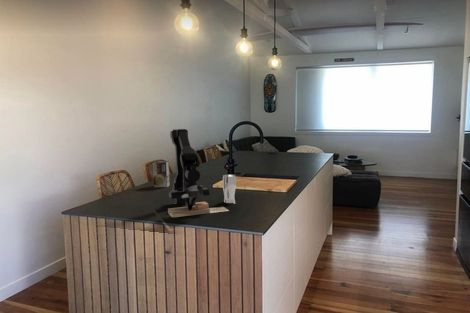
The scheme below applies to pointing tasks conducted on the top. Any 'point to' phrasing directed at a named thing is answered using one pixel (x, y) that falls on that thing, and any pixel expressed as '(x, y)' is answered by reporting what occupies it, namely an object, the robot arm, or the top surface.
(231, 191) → the beer glass
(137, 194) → the top surface
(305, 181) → the top surface
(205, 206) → the block
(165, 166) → the coffee box
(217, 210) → the beige open frame tray
